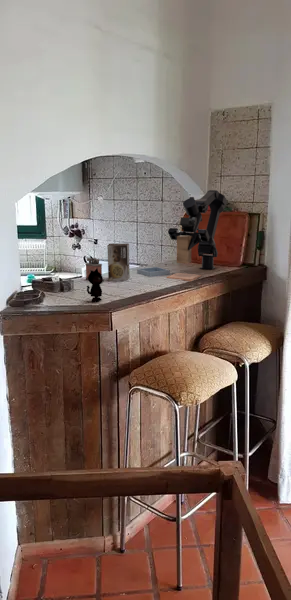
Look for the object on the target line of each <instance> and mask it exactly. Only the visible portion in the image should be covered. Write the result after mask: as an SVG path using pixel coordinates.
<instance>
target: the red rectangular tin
mask: <svg viewBox="0 0 291 600" xmlns="http://www.w3.org/2000/svg"><path fill="white" fill-rule="evenodd" d="M86 261H87V262H85V263H84V264H85V280H86V281H89V280H88V276H89V274H90V273H91V271H93V272H94V271H95V270H96V269H97V268H98V272H99V273H100V274H101V275H102V276H103V272H102V271H103V270H102V268H103V267H102V266H103V264H102V263H100V258H96V257H93V258H92V257H87V258H86Z"/></svg>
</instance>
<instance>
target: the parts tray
mask: <svg viewBox="0 0 291 600" xmlns="http://www.w3.org/2000/svg"><path fill="white" fill-rule="evenodd" d="M136 274H137V275H142V276H145V277H146V276H147V277H149V278H152V277H158V276H159V277H160V276H170V275H171V270H170V269H166V268H162V267H159V266H153V267H152V266H151V267H142V268H137V269H136Z"/></svg>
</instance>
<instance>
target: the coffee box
mask: <svg viewBox="0 0 291 600" xmlns="http://www.w3.org/2000/svg"><path fill="white" fill-rule="evenodd" d="M130 271H131V270H130V244H129V243H108V244H107V274H108V275H107V277H108V278H107V279H108V280H107V281H109V282H125V281H129V279H130V278H131V276H130V275H131V274H130Z"/></svg>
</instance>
